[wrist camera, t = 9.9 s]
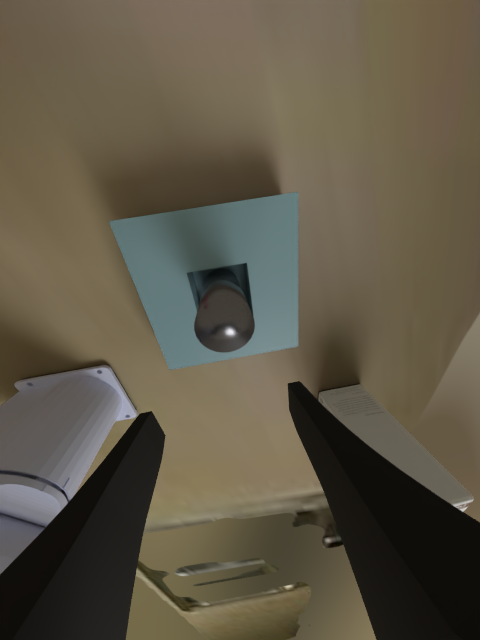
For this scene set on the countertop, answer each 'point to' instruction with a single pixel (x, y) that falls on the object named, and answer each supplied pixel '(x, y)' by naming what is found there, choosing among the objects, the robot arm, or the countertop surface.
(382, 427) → the skincare box
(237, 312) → the metal peg
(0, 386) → the countertop surface
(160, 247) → the socket block
